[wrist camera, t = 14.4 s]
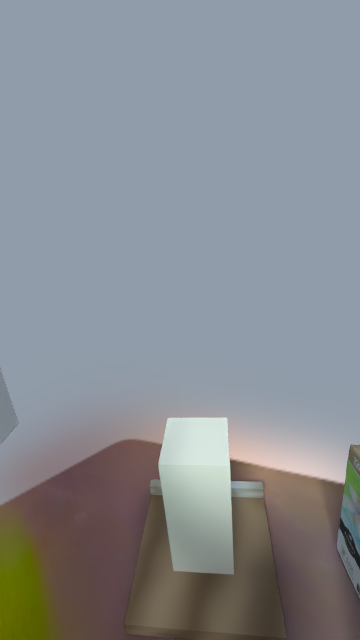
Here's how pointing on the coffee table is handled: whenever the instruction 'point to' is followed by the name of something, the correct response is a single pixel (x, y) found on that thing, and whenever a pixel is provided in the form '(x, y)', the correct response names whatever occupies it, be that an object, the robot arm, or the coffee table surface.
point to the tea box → (351, 519)
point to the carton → (198, 494)
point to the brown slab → (208, 580)
